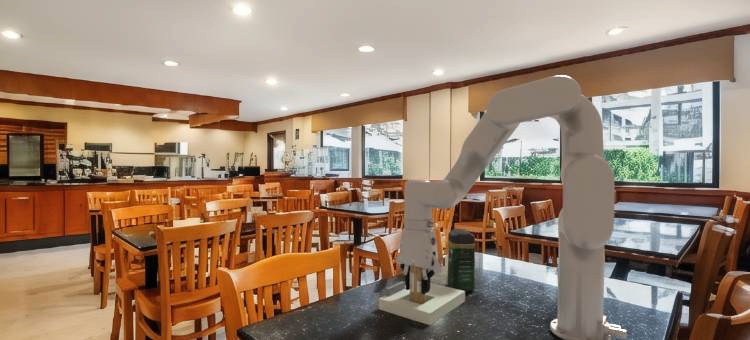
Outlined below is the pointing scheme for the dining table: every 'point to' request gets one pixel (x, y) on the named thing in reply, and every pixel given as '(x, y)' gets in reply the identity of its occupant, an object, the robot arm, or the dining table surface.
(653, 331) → the dining table surface
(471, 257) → the coffee jar
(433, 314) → the deck plate
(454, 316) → the dining table surface
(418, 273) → the sprinkles bottle
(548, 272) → the dining table surface
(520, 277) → the dining table surface
